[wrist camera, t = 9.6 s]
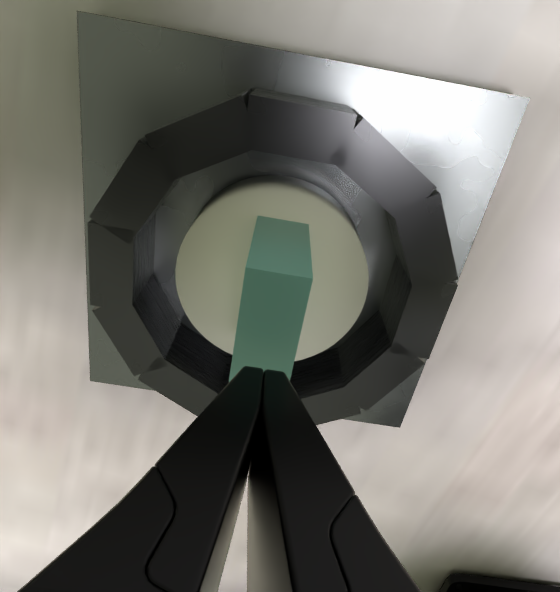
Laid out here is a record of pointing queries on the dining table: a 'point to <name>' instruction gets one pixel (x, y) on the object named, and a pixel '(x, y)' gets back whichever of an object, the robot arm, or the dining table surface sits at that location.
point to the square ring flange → (284, 162)
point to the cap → (272, 272)
